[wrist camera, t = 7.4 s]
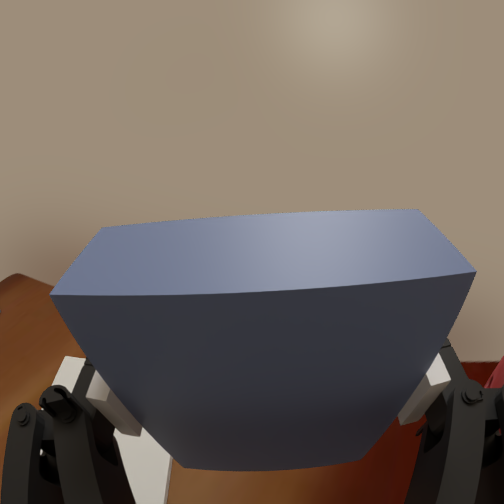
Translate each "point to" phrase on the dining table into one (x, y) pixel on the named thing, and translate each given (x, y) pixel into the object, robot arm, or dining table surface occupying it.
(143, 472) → the mat
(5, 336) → the dining table surface
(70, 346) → the dining table surface
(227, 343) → the book
